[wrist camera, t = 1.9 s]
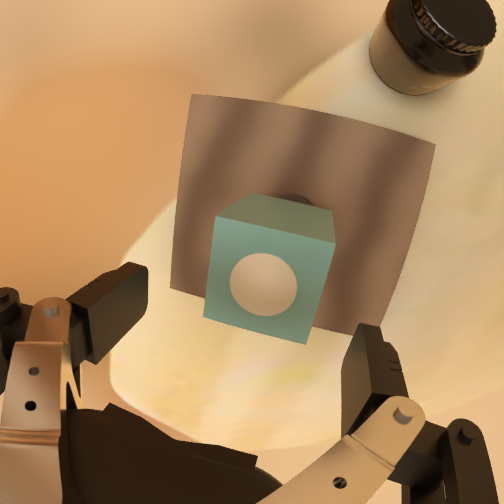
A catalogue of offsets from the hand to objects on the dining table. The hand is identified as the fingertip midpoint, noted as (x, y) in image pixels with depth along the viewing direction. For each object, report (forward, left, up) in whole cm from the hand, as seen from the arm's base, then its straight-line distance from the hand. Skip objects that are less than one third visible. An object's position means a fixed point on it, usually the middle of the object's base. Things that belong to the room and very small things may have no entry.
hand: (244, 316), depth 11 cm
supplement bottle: (-7, -16, -17) cm, 24 cm away
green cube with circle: (0, 0, -10) cm, 10 cm away
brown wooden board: (0, 0, -17) cm, 17 cm away
